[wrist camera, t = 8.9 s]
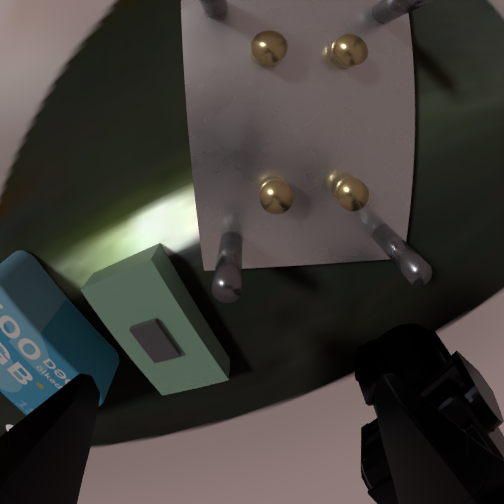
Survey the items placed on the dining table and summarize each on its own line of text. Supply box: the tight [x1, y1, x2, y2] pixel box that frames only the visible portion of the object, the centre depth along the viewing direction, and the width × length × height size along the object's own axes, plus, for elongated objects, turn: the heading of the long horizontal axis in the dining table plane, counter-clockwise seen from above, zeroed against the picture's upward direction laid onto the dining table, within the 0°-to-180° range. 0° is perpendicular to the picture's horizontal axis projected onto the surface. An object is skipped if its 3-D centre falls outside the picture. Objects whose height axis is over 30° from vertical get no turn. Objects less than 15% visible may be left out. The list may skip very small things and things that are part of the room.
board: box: [81, 243, 230, 395], centre depth 20 cm, size 6×10×3 cm, turn 22°
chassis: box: [181, 0, 435, 303], centre depth 13 cm, size 12×16×6 cm
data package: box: [0, 250, 119, 415], centre depth 20 cm, size 12×4×12 cm
